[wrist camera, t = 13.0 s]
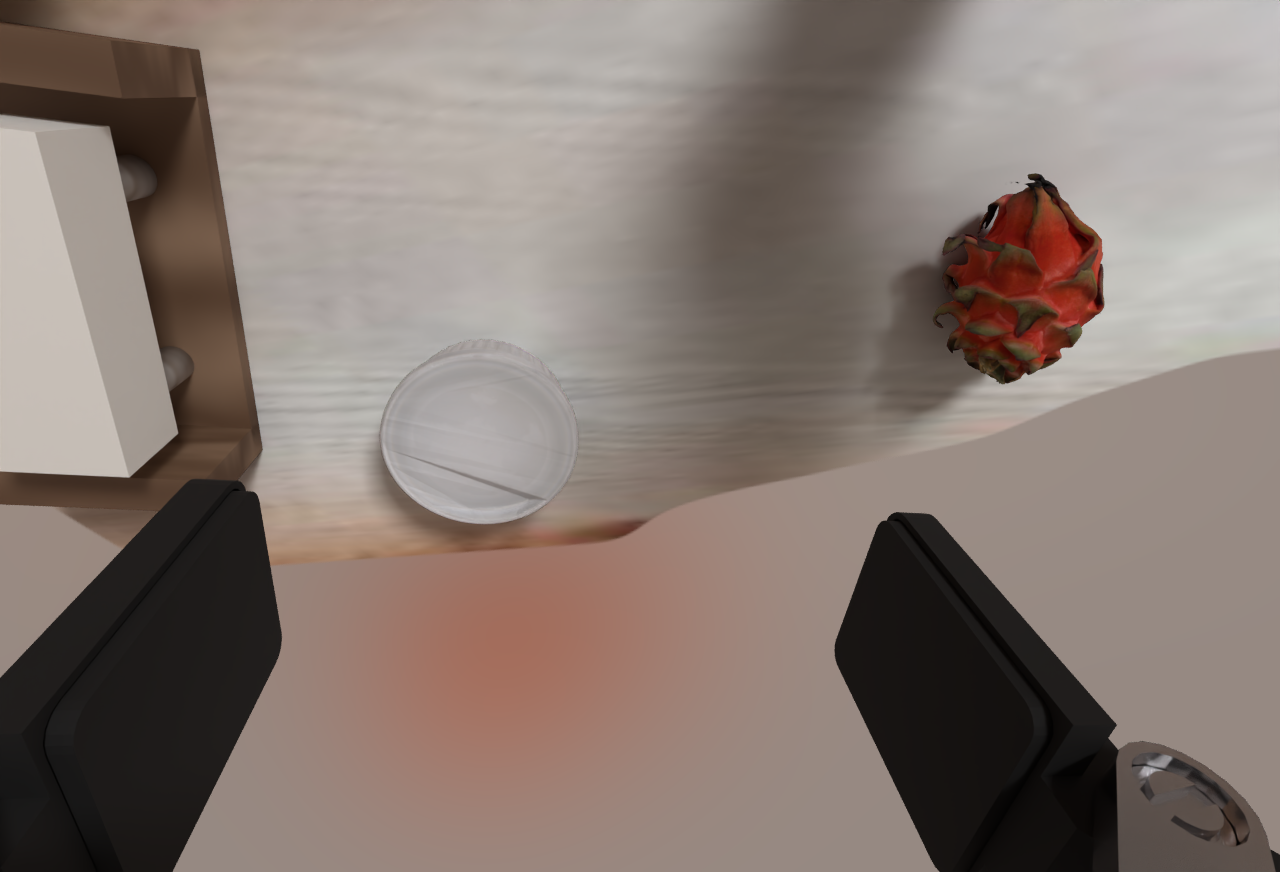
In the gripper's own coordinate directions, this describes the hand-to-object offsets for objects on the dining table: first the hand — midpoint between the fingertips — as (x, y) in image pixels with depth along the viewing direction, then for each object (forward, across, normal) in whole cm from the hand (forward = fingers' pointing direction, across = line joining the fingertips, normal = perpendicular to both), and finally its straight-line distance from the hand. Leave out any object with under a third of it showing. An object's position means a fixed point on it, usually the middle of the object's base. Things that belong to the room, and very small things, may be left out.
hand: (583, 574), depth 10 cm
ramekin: (+31, +4, +12) cm, 33 cm away
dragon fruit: (+31, -26, 0) cm, 40 cm away
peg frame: (+30, +23, +5) cm, 38 cm away
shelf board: (+25, +23, +5) cm, 34 cm away
